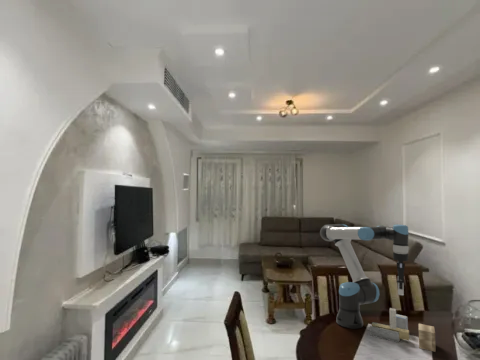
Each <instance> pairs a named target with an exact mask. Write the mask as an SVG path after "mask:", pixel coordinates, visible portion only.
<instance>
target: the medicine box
mask: <svg viewBox="0 0 480 360" xmlns="http://www.w3.org/2000/svg"><path fill="white" fill-rule="evenodd" d="M408 319H409V318H408V316H406V315H402V314H398V313H396V327H398V328H401V329H406V330H409V322H408Z"/></svg>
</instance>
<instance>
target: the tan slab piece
mask: <svg viewBox="0 0 480 360" xmlns="http://www.w3.org/2000/svg"><path fill="white" fill-rule="evenodd" d="M388 313H389V325H388V324H384V323H383V324H384V325H383V324H382V323H379V324H378V322H374V323H373V321H372V322H371V326H374V327H378V328H383V329H388V330H392V331H397V332H399V339H400V340H405V341H407V342H409V341H410V330H409V329H408V330H406V329H401V328H397V327H396V314H397V308H393V307H389V312H388ZM387 325H388V326H387Z"/></svg>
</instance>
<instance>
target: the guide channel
mask: <svg viewBox="0 0 480 360" xmlns="http://www.w3.org/2000/svg"><path fill="white" fill-rule="evenodd" d="M372 322H373V321H372ZM373 323H375V322H373ZM377 323H378V322H377ZM378 324H380V323H378ZM383 325H385V324H384V323H383ZM386 325H387V326H389V325H388V324H386ZM397 328H398V327H397ZM369 329H370V333H369V334H370V336H371V337H375V338H379V339H383V340H388V341H392V342H396V343H399V342H400V340H401V339H399V332H397V331H392V330H388V329H383V328H378V327H374V326H372V325H370V327H369Z"/></svg>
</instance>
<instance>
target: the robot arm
mask: <svg viewBox="0 0 480 360" xmlns="http://www.w3.org/2000/svg"><path fill="white" fill-rule="evenodd" d="M409 234H410V233H409V226H408V225H406V224H398V223H397V224H393V226H392V227H391V226H385V225H376V226H348V225H347V224H344V223H337V224H324V225H323V226H322V227H321V228H320V231H319V235H320V237H321V239H323V240H324V241H325V242H333V243H334V246H336V248H337V247H338V249H339V252H340V254H341V256H342V258H343V260H344V263H345V265H346V268H347V270H348V273H349V274H350V278H351V279H352V282H351V281H346V282H343V283H340V285H339V286H338V287H339V288H338V300H339V302H338V303H339V306H338V307H339V309H338V311H337V314H336V321H335V322H336V323H337V325H339V326H341V327H342V328H346V329H354V330H355V329H361V328H363V326H364V319H363V317H362V315H361V312H360V311H361V309H360V306H361V305H365V304H366V305H367V304H372V303H375V302H377V301H378V300H379V298H380V289H379V287H378V284H376V283H374V282H372V281H371V278H370V277H367V275H366V273H365V272H364V269H363V267H362V265H361V263H360V261H359V259H358V256H357V255H356V252H355V249H354V247H353V245H352V244H351V242H352V240H360V241H375V240H376V241H377V240H378V241H379V240H388V241H392V251H393V252H392V253H393V254H392V258H393V260H395V261H397V262H396V270H397V280H396V283H397V296H404V295H405V294H404V293H405V291H404V289H405V287H404V285H405V280H404V278H405V274H404V273H405V268H406V264H405V262H407V261H409V250H410V246H409Z"/></svg>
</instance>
